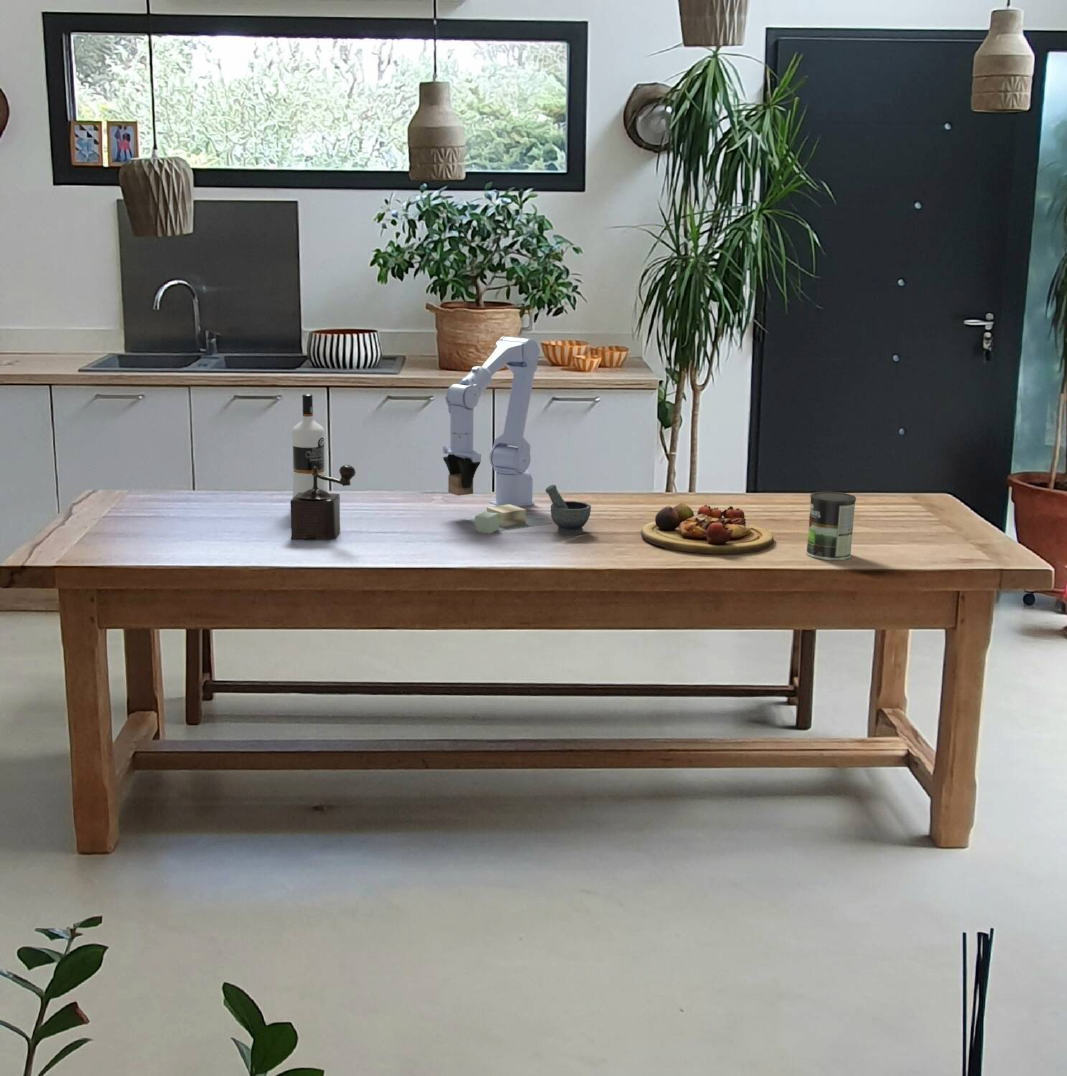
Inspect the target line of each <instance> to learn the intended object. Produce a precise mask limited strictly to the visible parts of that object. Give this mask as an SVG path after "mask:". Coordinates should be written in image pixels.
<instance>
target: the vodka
mask: <svg viewBox="0 0 1067 1076" xmlns="http://www.w3.org/2000/svg"><path fill="white" fill-rule="evenodd" d="M301 399H302V420H301V421H299V422H298V423H297V424H295V425H294V426H293V428H292V429H291V444H292V461H293V462H292V463H293V464H292V467H293V470H292V473H291V474H292V479H293V480H292V481H293V484H292V485H293V487H292V499H293V498H294V497H295V496H296V495H297V494H298V493H299V492H305V491H307V490H309V489H312V488H313V476H312V473H313V470H312V469H313V467H317V468H318V471H317V473H318V475H321V476H325V477H326V471H325V467H326V465H325V444H326V441H325V439H326V438H325V434H326V432H325V429H324V427H323V426H322V425H321V424H319V423H318V422H316V421H315V419H314V406H313V404H314V402H313V401H314V400H313V395H312V394H309V393H304V394H302V398H301ZM317 487H318V489H322V490H324V491H326V492H327V490H326V480H323V479H320V478H318V477H317ZM292 499H291V500H292Z"/></svg>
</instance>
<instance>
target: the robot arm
mask: <svg viewBox="0 0 1067 1076" xmlns="http://www.w3.org/2000/svg"><path fill="white" fill-rule="evenodd" d="M494 347H495V348H494V350H493V352H492V353H491V354H490V356H489V357H488V358H487V359H486V360H485V362H484V363H483V364H482V366H477V365H475V366H473V367H472V368H471V371H469V372H468V373H467V374H466V375H465V376H464V377H463V378H462V379H461V380H460V381H459V382H458V383H454V384H453V383H452V385H451V386H449V387H448V389H447V390H446V394H445V402H446V405H447V407H448V409H447V410H448V413H449V414H450V415H449V416H450V420H449V421H450V424H449V425H450V427H449V430H450V435H449V437H450V438H449V439H450V442H449V443H450V445H449V444H447V445H442V454H445V455H447V456H443V457H442V458H443V461H444V463H445V466H446V468H447V469H448V473H449V474H448V475H452V474H460V473H461V476H462V486H463V488H471V486H472V482H473V483H474V478H475V474H476V472H477V469H478V468H479V466H480V464H481V462H482V454H481V453H479V452H477V451H476V450H475V449H474V408H475V407H477V405H478V403H479V399H480V397H481V395H482V393H483V392H484V391H485V390H486V389H487V388H488V387H489V386H490V385H491V383H492V381H493V378H492V376H494V375H495V374H496V373H497V372H499V370H500V369H502V368H503V367H504V366H506V368H507V369H509V370H510V371H511V372H512V374H513V377H512V383H511V388H510V393H509V394H510V395H509V399H508V400H509V401H508V405H507V411H506V415H505V416H506V417H505V422H504V427H503V433H502V434H501V435H499V436H498V437H496V438H495V439H494V441H493V446H492V448H491V450H490V452H489V463H490V466H491V467H492V468H493V471H494V472H495V499H494V500H489V501H488V503H489V504H492V505H493V506H500V505H508V504H510V505H514V506H517V507H525V506H530V505H531V506H532V505H535V502H533V494H534V493H533V491H534V490H533V488H534V487H533V486H534V482H533V477H532V474H531V472H529V470H528V468H529V467H530V464H531V444H530V443H529V442H528V441H527V440H526V438H525V437H524V433H525V429H526V423H527V417H528V411H529V406H530V400H531V395H532V394H531V393H532V389H533V385H534V384H533V383H534V378H535V377H534V376H535V372H536V371H537V370H538V369H537V368H538V362H539V357H540V351H541V349H540V348H539V345H538V343H537V341H536V339H534V338H531V337H530V338H529V337H528V338H523V337H515V336H514V337H513V336H507V335H503V336H501V337H500V338H499V339H498V340H497V341H496V342H495V346H494Z"/></svg>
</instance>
